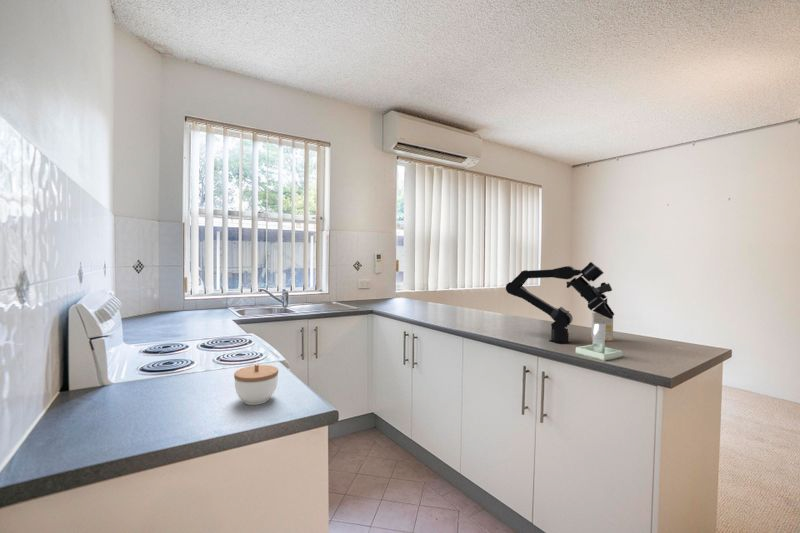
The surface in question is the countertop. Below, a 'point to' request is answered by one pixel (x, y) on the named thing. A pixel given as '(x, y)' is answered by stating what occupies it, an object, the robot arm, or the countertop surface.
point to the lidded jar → (256, 383)
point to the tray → (608, 354)
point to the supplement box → (609, 323)
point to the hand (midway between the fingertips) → (612, 316)
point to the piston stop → (598, 337)
